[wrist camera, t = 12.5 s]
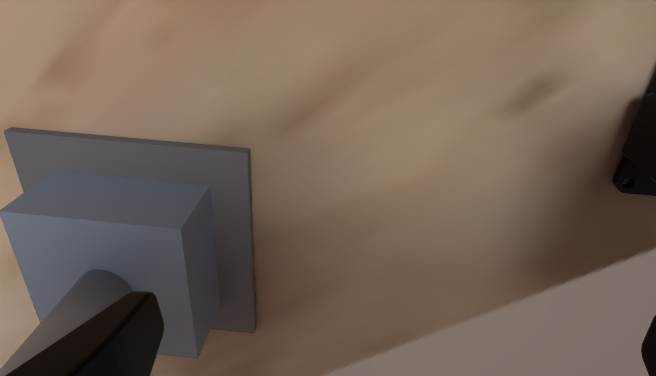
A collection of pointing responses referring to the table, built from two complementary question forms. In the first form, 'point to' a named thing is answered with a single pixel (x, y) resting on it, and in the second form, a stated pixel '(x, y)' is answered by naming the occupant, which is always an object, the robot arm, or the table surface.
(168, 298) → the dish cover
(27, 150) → the rubber mat
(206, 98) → the table surface
